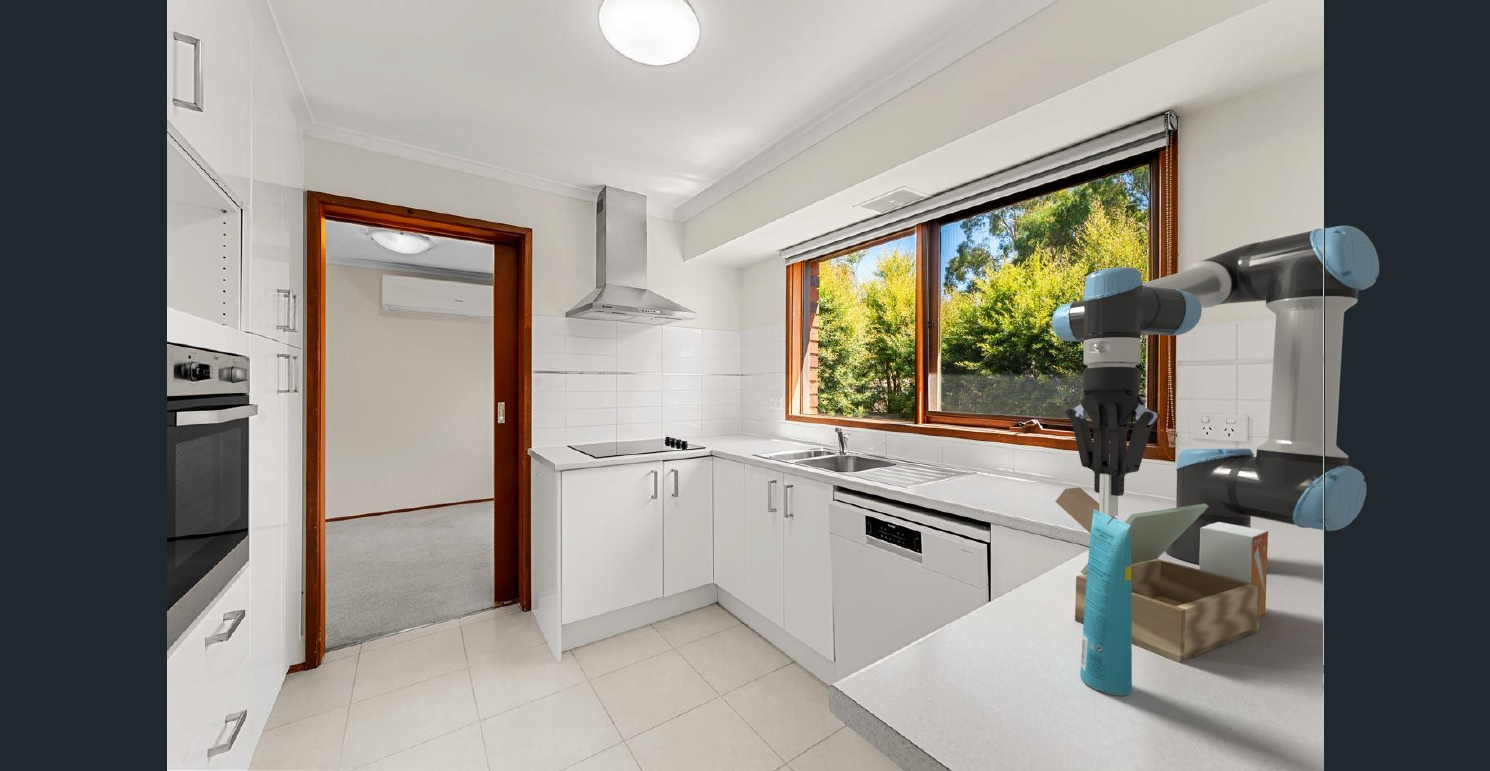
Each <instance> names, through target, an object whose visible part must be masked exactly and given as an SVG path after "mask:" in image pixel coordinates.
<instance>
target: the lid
mask: <svg viewBox="0 0 1490 771" xmlns="http://www.w3.org/2000/svg"><path fill="white" fill-rule="evenodd" d="M1055 503H1056V504H1057V505H1058V506H1059V507H1061V509H1063V510H1064V511H1065V512H1066V513H1067V514H1068V515H1069V516H1071V517H1072V519H1074V520H1075V521H1076V522H1077V523H1078V524H1079V525H1080V526H1082V528H1084V530H1086V531H1087V532H1088V533H1089V534H1090V535H1091V526H1092V518H1093V509H1095V510H1097V511H1099V502H1098V501H1096V500H1095V499H1094V498H1093V497H1092V496H1091V495H1090V494H1088V493H1087V492H1086V491H1084V489H1082V488H1081V487H1071V488H1069V487H1068V488H1065V489H1064V490H1063V491H1062V492H1061V494H1060V495H1059V496H1058V497H1057V499H1056V500H1055ZM1208 507H1209V506H1208V505H1206V504H1199V505H1192V506H1185V507H1178V508H1176V507H1173V508H1167V509H1165V508H1164V509H1158V510H1151V511H1143V512H1139V513H1131V515H1130V516H1129V517H1128V518H1127V519H1126V520H1125V521H1123V522H1124V523H1127V524H1129V525H1132V526H1131V528H1130V547H1131V565H1132V564H1136V563H1141V562H1145V561H1150V560H1154V559H1160V557H1161V555H1163V554H1164V553H1166V552H1165V551H1166V550H1167V549H1168V548H1169V546H1170V545H1171V544H1172V543H1173V542H1174V541H1175V540H1176V539H1177V538H1178V537H1179V536H1180V535H1181V534H1182V533H1183V532H1184V531H1185V530H1186V529H1187V528H1188V527H1189V526H1190V525H1191V524H1192V523H1193V522H1194V521H1195V520H1196V519H1197V518H1198V517H1199V516H1200V515H1201V514H1202V513H1203V512H1204V511H1205V510H1206V509H1207V508H1208ZM1111 517H1112V518H1115V519H1117V520H1119V519H1118V518H1116V516H1111ZM1087 570H1088V563H1087V564H1086V565H1085V566H1084V567H1083V569H1081V570H1080V573H1081V575H1087Z"/></svg>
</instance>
